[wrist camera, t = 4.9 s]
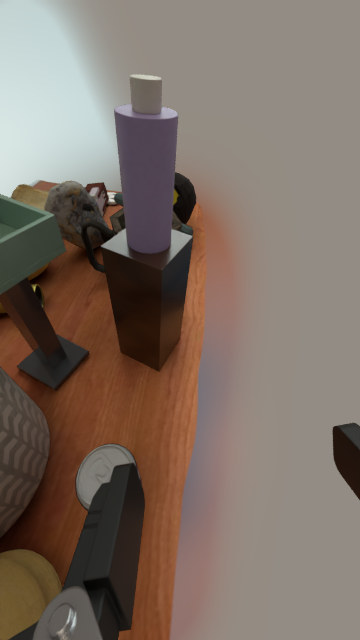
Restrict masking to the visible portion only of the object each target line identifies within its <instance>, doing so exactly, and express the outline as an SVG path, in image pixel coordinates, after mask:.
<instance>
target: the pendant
mask: <svg viewBox="0 0 360 640" xmlns="http://www.w3.org/2000/svg"><path fill="white" fill-rule="evenodd" d="M107 194H108V197H109V200H108V202H107V204H111V205H113V204H117V203H116V202H115V201H114V200H113V199H114V196H115V194H116V193H107Z"/></svg>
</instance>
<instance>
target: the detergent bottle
mask: <svg viewBox="0 0 360 640" xmlns="http://www.w3.org/2000/svg"><path fill="white" fill-rule="evenodd" d="M130 87H131V104H128V105H121V106H118V107H116V108H115V109H114V112H115V123H116V134H117V143H118V154H119V164H120V175H121V185H122V195H123V206H124V216H125V226H126V237H127V243H128V245H129V247H130V248H132V249H133V250H135V251H137V252H141V253H146V254H153V253H159V252H162V251H164V250H166V249H167V248H168V247H169V246H170V244H171V232H172V215H173V197H174V179H175V161H176V160H175V159H176V143H177V125H178V113H177V112H175V111H174V110H171V109H168V108H164V107H161V96H162V93H161V90H162V79H161V78H159V77H156V76H149V75H130Z"/></svg>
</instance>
